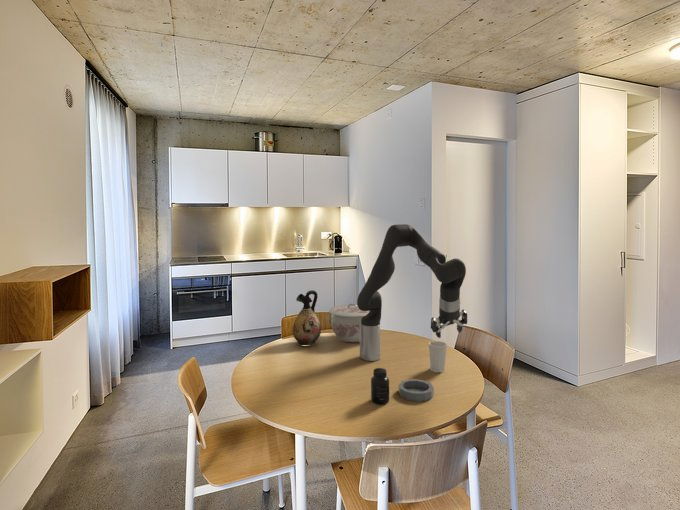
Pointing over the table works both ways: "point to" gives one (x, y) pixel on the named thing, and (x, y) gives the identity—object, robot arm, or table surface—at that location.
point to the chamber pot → (347, 322)
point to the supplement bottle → (380, 387)
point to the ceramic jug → (307, 321)
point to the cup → (437, 356)
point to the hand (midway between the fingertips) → (448, 333)
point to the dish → (416, 390)
